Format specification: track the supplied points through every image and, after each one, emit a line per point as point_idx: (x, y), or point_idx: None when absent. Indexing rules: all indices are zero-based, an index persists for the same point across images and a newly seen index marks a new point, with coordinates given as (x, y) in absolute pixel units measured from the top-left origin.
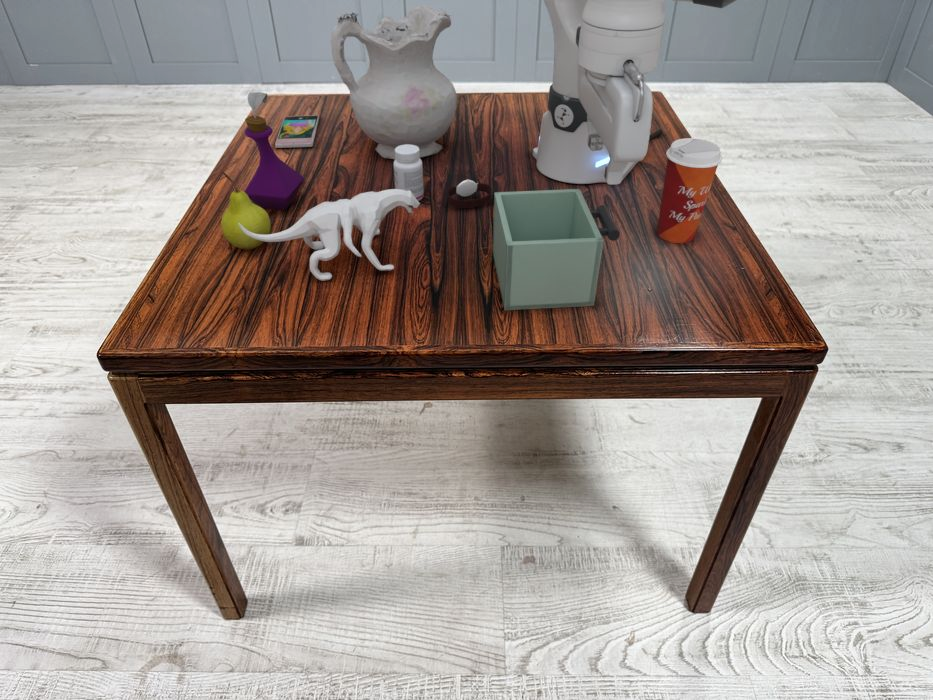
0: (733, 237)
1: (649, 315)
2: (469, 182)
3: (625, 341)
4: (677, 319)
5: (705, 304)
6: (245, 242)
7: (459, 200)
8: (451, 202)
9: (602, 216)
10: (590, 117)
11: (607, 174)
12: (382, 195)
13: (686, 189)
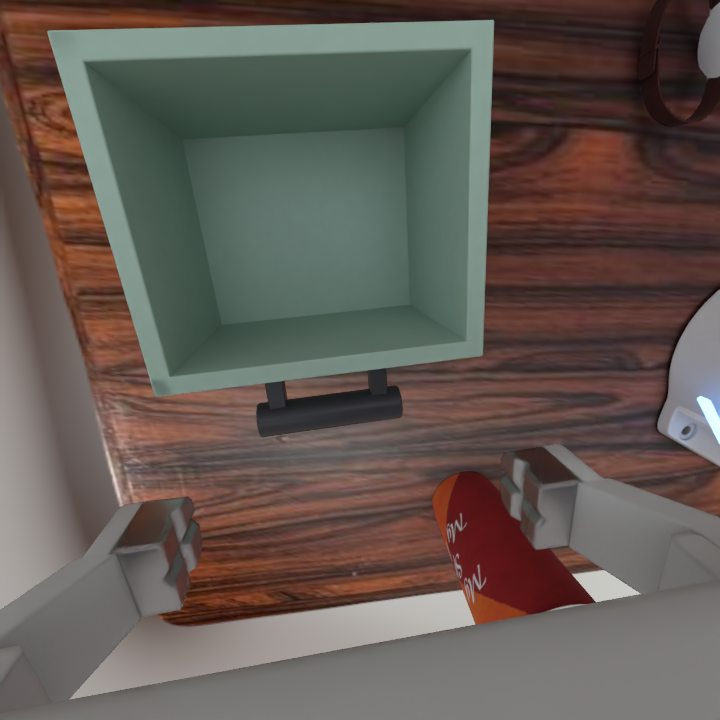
0: (445, 573)
1: (199, 429)
2: None
3: (106, 380)
4: (194, 470)
5: (246, 514)
6: None
7: (663, 10)
8: None
9: (344, 402)
10: (563, 644)
11: (103, 535)
12: None
13: (475, 588)
